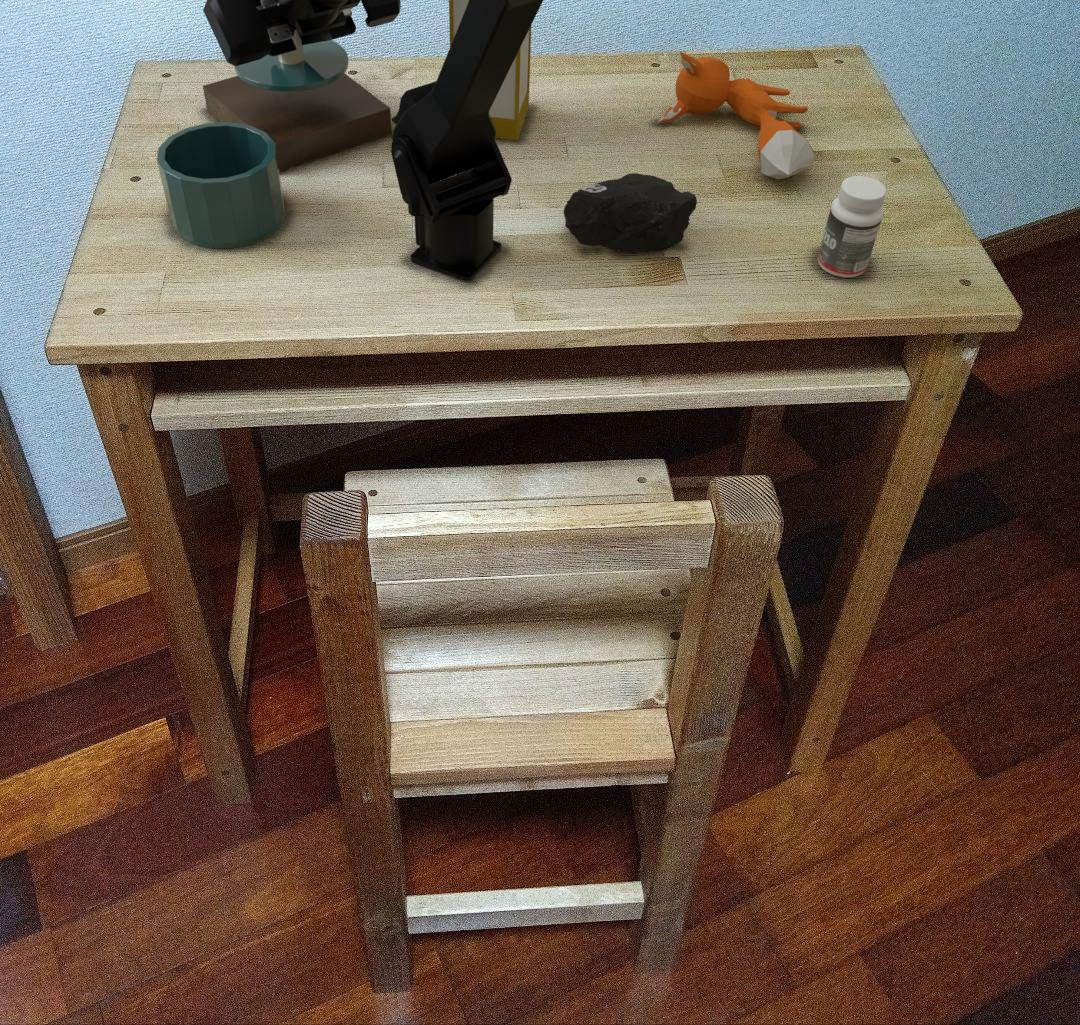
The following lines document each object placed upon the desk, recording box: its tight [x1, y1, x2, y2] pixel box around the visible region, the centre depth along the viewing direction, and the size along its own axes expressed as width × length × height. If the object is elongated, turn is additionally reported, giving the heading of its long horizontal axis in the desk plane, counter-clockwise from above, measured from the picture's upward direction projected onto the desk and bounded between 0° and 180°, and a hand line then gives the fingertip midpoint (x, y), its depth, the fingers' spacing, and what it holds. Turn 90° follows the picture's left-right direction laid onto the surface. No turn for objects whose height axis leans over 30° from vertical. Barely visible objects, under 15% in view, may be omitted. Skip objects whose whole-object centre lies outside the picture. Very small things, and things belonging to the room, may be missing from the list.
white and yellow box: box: [448, 0, 532, 141], centre depth 114 cm, size 7×13×24 cm, turn 171°
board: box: [202, 72, 393, 173], centre depth 121 cm, size 15×14×3 cm
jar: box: [156, 122, 286, 250], centre depth 107 cm, size 11×11×7 cm
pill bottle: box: [817, 175, 887, 278], centre depth 106 cm, size 5×5×8 cm
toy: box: [657, 51, 815, 180], centre depth 121 cm, size 8×22×15 cm
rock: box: [563, 172, 698, 254], centre depth 108 cm, size 10×9×6 cm
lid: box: [233, 30, 350, 92], centre depth 116 cm, size 12×12×5 cm
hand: (283, 44), depth 117 cm, fingers closed on lid, 3 cm apart
